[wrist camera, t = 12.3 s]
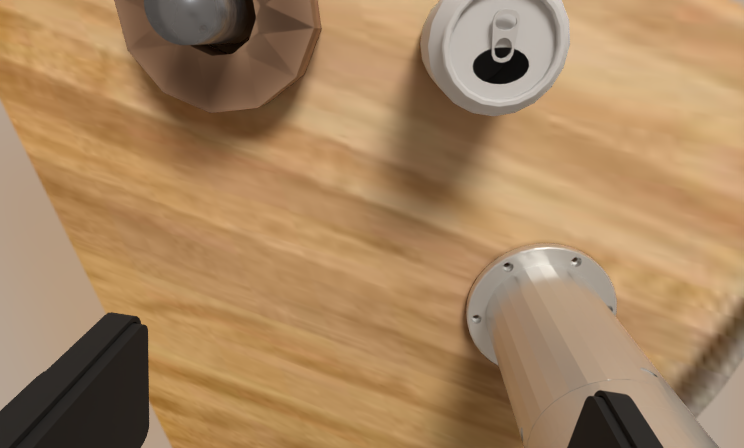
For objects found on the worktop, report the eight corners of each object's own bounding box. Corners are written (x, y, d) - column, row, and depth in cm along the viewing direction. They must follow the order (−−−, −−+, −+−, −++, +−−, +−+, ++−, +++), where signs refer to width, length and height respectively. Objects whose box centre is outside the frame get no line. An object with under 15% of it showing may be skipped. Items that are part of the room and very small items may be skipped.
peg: (268, 20, 36) (229, 15, 28) (227, 54, 37) (178, 59, 29) (231, -29, 35) (179, -50, 27) (191, 7, 36) (128, -1, 28)
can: (418, 95, 37) (427, 121, 26) (420, -14, 35) (432, -37, 24) (518, 95, 37) (571, 120, 26) (528, -16, 34) (592, -40, 23)
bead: (354, 34, 36) (350, 33, 33) (224, 137, 39) (208, 146, 36) (236, -136, 33) (219, -155, 29) (104, -8, 36) (75, -12, 33)
